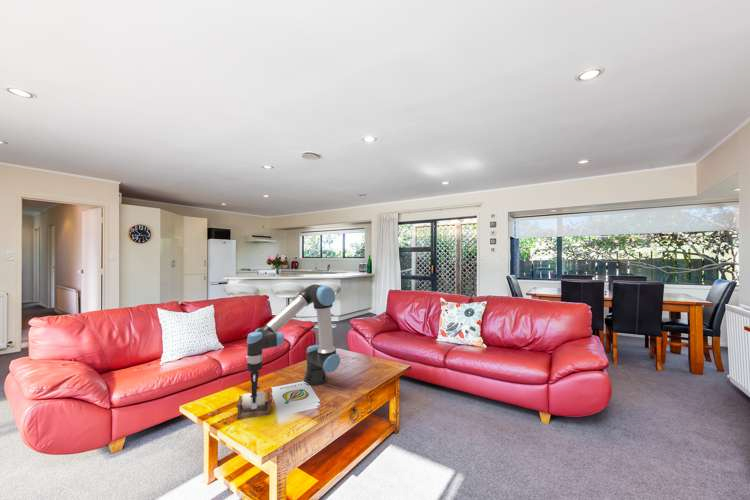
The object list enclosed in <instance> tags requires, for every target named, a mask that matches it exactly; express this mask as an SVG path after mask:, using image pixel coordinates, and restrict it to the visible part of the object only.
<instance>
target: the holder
mask: <svg viewBox="0 0 750 500" xmlns="http://www.w3.org/2000/svg"><path fill="white" fill-rule="evenodd" d="M238 397H239V398H238V402H237V403H236V404H235V405H236V407H235V408H237V416H236V420H242V419H248V418H253V417H255V418H256V417H261V416H269V415H271V404H272V403H273V402H272V401H273V399H272V398H271V392H267V394H266V397H267V398H266V399H267V400H265V405H264V406H257V409H251V408H244V409H243V395H239V396H238Z"/></svg>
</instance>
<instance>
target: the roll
mask: <svg viewBox="0 0 750 500" xmlns="http://www.w3.org/2000/svg"><path fill="white" fill-rule="evenodd" d="M251 395H252V392H250V393H249V392H248V393H243V394H242V405H243V409H244V408H251V397H250V396H251ZM265 401H266V391H257V406H264V405H265Z"/></svg>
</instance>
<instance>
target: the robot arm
mask: <svg viewBox="0 0 750 500" xmlns="http://www.w3.org/2000/svg"><path fill="white" fill-rule="evenodd" d="M335 301H336V292H335V291H334V289H333V288H332V287H330V286H328V285H322V284H321V285H320V284H316V283H315V284H310V285H308V286H307V287H306V288H304V289H303V290H302V291H300V292H299V293H298V294H297V295H296V298H295V299H293V300H292V301H291V302H290V303H289V304H288V305H287V306H285V308H283V309H282V310H281V311H280V312H279V313H277V314H276V315H275V316H274V317H273V318H272V319H270V321H268V323H266V324H265V325H263V327H259V328H256V329H255V330H254V331H252V332H250V333H248V335H247V338H246V348H247V349H246V351H247V354H246V356H245V358H246V360H247V361H246V363H247V364H246V370H247V371H248V372H250V383H251V393H252V395H251V396H250V397H251V409H257V392H258V389H259V386H258V382H259V371H261V370H262V369H263V351H264V350H267V349H272V348H275V347H276V348H278V347H280V346H283V345H284V342H285V337H284V333H282V332H281V331H279V330H280V329H282V328H283V327H284V326H285V325H286V324H288V322H289V321H290V320H292V319H293V318H295V316H296V315H297V314H298V313H299V312H300V311H301V310H302V309H304V308H305V307H308V306H309V305H311V304H313V309H314V310H315V311H316V320H317V331H318V332H317V334H318V344H313V345H310V346H308V347H307V349H306V369H305V370H306V371H305V374H304V376H303V383H304V382H306V383H308V384H309V385H308V384H307V385H308V386H317V385H319V386H320V385H323V384H325V383H326V382H327V381H328V376H327V373H333V372H335V371H336V370H338V367H339V366H340V364H341V357H340V355H338V354H337V347H336V346H334V339H333V338H334V337H333V328H332V314H331V313H332V312H331V309H332V307H333V305H334V304H333V303H334V302H335ZM278 331H279V332H278Z"/></svg>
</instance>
